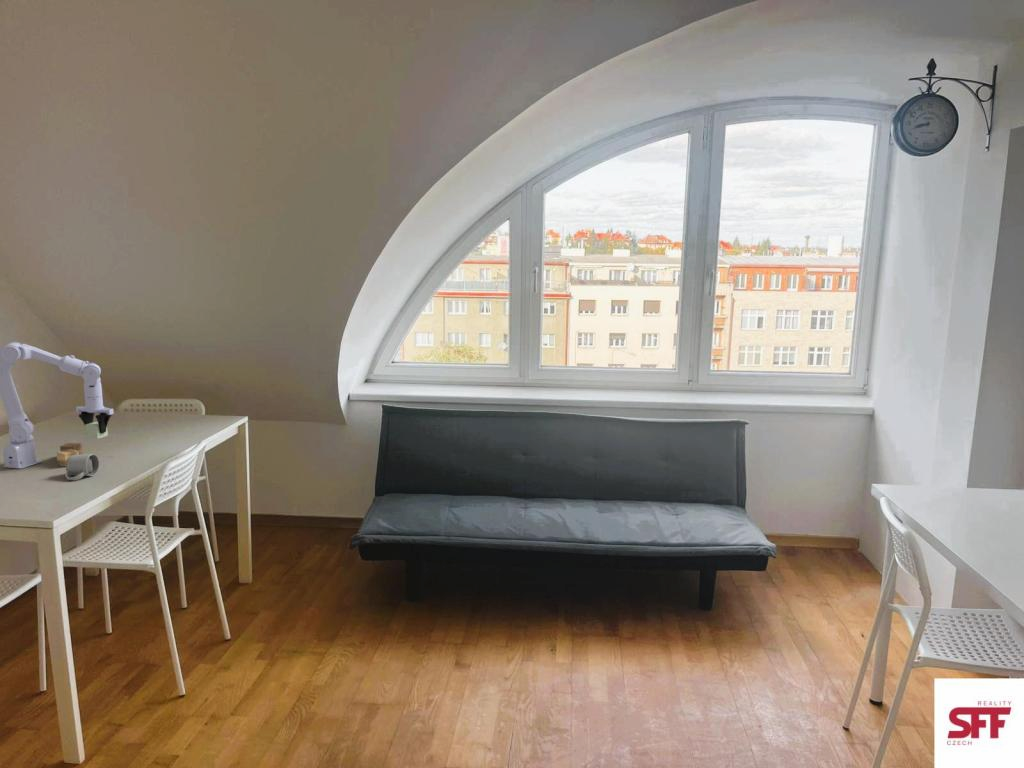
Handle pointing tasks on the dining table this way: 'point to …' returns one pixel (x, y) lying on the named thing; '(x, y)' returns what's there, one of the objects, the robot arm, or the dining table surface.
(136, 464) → the dining table surface
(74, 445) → the walnut block
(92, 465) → the ceramic mug
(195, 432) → the dining table surface
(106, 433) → the sage block
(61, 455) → the oak block
